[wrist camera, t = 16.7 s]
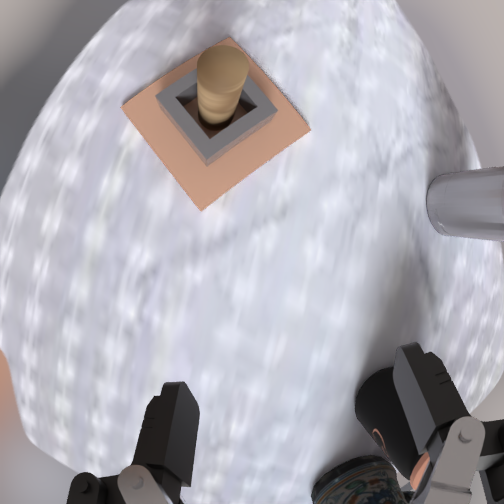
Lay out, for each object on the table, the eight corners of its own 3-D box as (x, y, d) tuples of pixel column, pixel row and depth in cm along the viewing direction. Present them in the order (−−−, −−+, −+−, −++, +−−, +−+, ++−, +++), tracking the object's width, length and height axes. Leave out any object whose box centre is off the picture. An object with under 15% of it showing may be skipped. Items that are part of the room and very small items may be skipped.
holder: (229, 40, 32) (232, 19, 27) (308, 132, 34) (323, 120, 30) (122, 110, 31) (110, 94, 26) (201, 211, 34) (199, 210, 29)
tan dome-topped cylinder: (219, 92, 32) (227, 37, 20) (240, 117, 32) (259, 69, 20) (191, 112, 31) (186, 61, 20) (212, 137, 32) (218, 95, 20)
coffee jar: (338, 405, 39) (397, 486, 21) (387, 351, 39) (468, 410, 22) (376, 429, 41) (432, 496, 23) (419, 381, 41) (489, 434, 23)
